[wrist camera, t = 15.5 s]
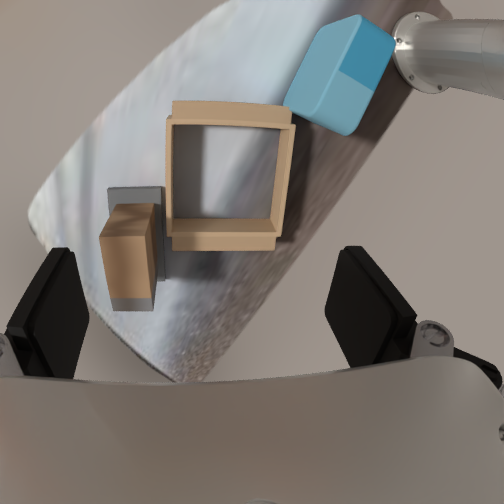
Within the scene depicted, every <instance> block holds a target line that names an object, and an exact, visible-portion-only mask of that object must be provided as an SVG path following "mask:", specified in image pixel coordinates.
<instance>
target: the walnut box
mask: <svg viewBox="0 0 504 504" xmlns="http://www.w3.org/2000/svg"><path fill="white" fill-rule="evenodd" d="M99 240H100V246H101V252H102V258H103V264H104V269H105V274H106V280H107V285H108V289H109V294H110V299H111V303H112V308H113V311H153V309H154V300H155V292H156V284H157V277H158V270H159V269H158V257H157V244H156V229H155V211H154V203H130V204H116V206H115V208H114V209H113V211H112V213H111V215H110V217H109V219H108V221H107V222H106V224H105V226H104V228H103V230H102V232H101V234H100V236H99Z"/></svg>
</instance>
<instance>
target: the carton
mask: <svg viewBox="0 0 504 504" xmlns="http://www.w3.org/2000/svg"><path fill="white" fill-rule="evenodd" d="M291 117H292V112H291V111H290V110H289V107H287V106H278V105H267V104H254V103H240V102H219V101H173V102H172V115H169V116H168V117H167V119H166V224H167V237H172V251H250V250H274V249H275V242H276V237H281V232H282V225H283V218H284V211H285V204H286V196H287V189H288V182H289V174H290V167H291V159H292V151H293V143H294V135H295V127H296V125H295V124H293V123H291ZM174 124H200V125H233V126H252V127H267V128H279V129H281V131H280V140H279V149H278V157H277V166H276V174H275V183H274V191H273V200H272V208H271V216H270V219H222V218H183V219H173V141H174Z"/></svg>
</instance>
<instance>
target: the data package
mask: <svg viewBox="0 0 504 504" xmlns="http://www.w3.org/2000/svg"><path fill="white" fill-rule="evenodd" d="M395 46H396V41H395V39H394V38H393V37H392V36H390V35H389V34H388V33H386V32H385V31H383V30H382V29H381V28H379V27H378V26H376V25H375V24H373V23H372V22H370V21H369V20H367V19H366V18H364V17H362V16H361V15H354V16H351V17H348V18H345V19H342V20H339V21H337V22H334V23H331V24H329V25H326V26H323V27H322V28H321V29H320V30H319V31H318V32H317V34H316V36H315V37H314V39H313V41H312V43H311V45H310V47H309V49H308V51H307V53H306V55H305V57H304V60H303V62H302V64H301V66H300V68H299V70H298V72H297V74H296V76H295V78H294V80H293V82H292V84H291V86H290V88H289V90H288V92H287V94H286V97H285V99H284V102H283V106H287V107H289V110H290V111H291V112H292V113H294V114H296V115H298V116H301V117H303V118H305V119H307V120H309V121H311V122H313V123H315V124H317V125H320V126H322V127H325V128H327V129H330V130H332V131H334V132H337V133H339V134H341V135H344V136H347V135H349V134H351V133H352V132H353V131H354V130H355V129H356V128H357V126H358V125H359V123H360V121H361V119H362V117H363V115H364V112H365V110H366V108H367V106H368V104H369V102H370V100H371V98H372V96H373V94H374V92H375V90H376V88H377V86H378V83H379V81H380V79H381V77H382V75H383V73H384V71H385V69H386V67H387V64H388V62H389V60H390V58H391V56H392V54H393V51H394V49H395Z"/></svg>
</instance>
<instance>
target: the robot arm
mask: <svg viewBox="0 0 504 504" xmlns="http://www.w3.org/2000/svg"><path fill="white" fill-rule="evenodd" d="M392 37H393V38H394V39H395V41H396V46H395V49H394V51H393V54H392V57H393V60H394V63H395V66H396V67H397V69H398V71H399V73H400V75H401V76H402V77H403V79H404V80H405V81H406V82H407V83H408V84H409V85H410V86H412V87H413V88H415V89H416V90H419V91H421V92H425V93H431V94H436V93H440V92H443V91H445V90H446V89H448V88H449V87H453V88H458V89H463V90H468V91H472V92H476V93H481V94H484V95H488V96H492V97H496V98H499V99H503V100H504V20H499V19H454V20H439V19H438V18H437V17H435V16H433V15H431V14H428V13H425V12H413V13H409V14H406V15H405V16H403V17H402V18H400V19H399V20H398V22H397V23H396V25H395V26H394V29H393V32H392ZM325 316H326V318H327V321H328V323H329V325H330V326H331V329H332V331H333V333H334V335H335V337H336V339H337V341H338V343H339V345H340V347H341V349H342V351H343V353H344V355H345V357H346V359H347V361H348V364H349V366H350V368H348V369H342V370H336V371H328V372H320V373H313V374H304V375H296V376H287V377H276V378H264V379H253V380H237V381H219V382H189V383H137V382H110V381H91V380H75V379H73V377H74V373H75V370H76V366H77V362H78V358H79V354H80V351H81V347H82V344H83V340H84V337H85V333H86V330H87V327H88V323H89V312H88V308H87V304H86V300H85V296H84V292H83V288H82V284H81V280H80V276H79V271H78V267H77V262H76V258H75V254H74V252H70V250H69V248H68V247H66V248H52V249H51V251H50V252H49V254H48V256H47V257H46V259H45V260H44V262H43V263H42V265H41V266H40V268H39V270H38V271H37V273H36V275H35V276H34V278H33V280H32V281H31V283H30V285H29V286H28V288H27V290H26V292H25V293H24V295H23V297H22V298H21V300H20V302H19V304H18V306H17V307H16V309H15V311H14V313H13V315H12V317H11V319H10V320H9V322H8V324H7V329H6V331H5V333H4V334H2V333H0V504H504V385H503V384H502V376H501V374H500V372H499V371H498V369H497V368H496V366H495V365H493V364H491V363H489V362H487V361H485V360H483V359H480V358H478V357H476V356H473V355H471V354H469V353H466V352H464V351H462V350H459V349H457V348H455V347H454V339H453V336H452V334H451V332H450V331H449V330H448V329H447V328H446V327H445V326H443V325H442V324H440V323H438V322H435V321H429V320H425V321H421V322H420V323H419V324H417V322H416V321H415V319H416V317H417V314H416V313H415V311H414V310H413V309H412V307H411V306H410V305H409V304H408V302H407V301H406V300H405V299H404V297H403V296H402V295H401V294H400V292H399V291H398V290H397V288H396V287H395V286H394V285H393V283H392V282H391V281H390V280H389V278H388V277H387V276H386V275H385V274H384V272H383V271H382V270H381V269H380V267H379V266H378V265H377V264H376V263H375V262H374V260H373V259H372V258H371V257H370V256H369V254H368V253H367V252H366V251H365V250H364V248H363V247H362V246H346V247H345V248H344V250H341V251H340V253H339V256H338V260H337V264H336V268H335V272H334V276H333V280H332V283H331V287H330V291H329V294H328V298H327V302H326V305H325Z"/></svg>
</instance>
